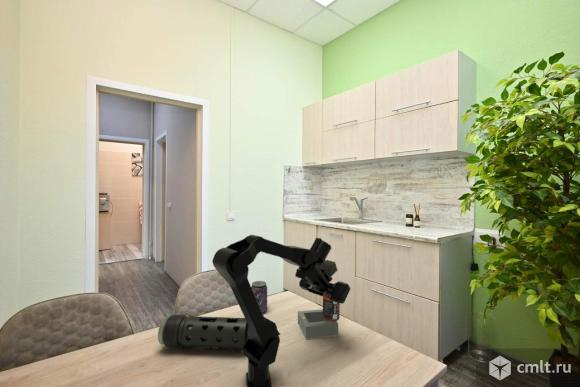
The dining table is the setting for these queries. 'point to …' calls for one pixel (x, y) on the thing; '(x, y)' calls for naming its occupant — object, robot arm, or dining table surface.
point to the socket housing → (316, 325)
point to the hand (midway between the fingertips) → (333, 298)
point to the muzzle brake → (203, 332)
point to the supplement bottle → (330, 308)
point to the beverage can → (260, 294)
